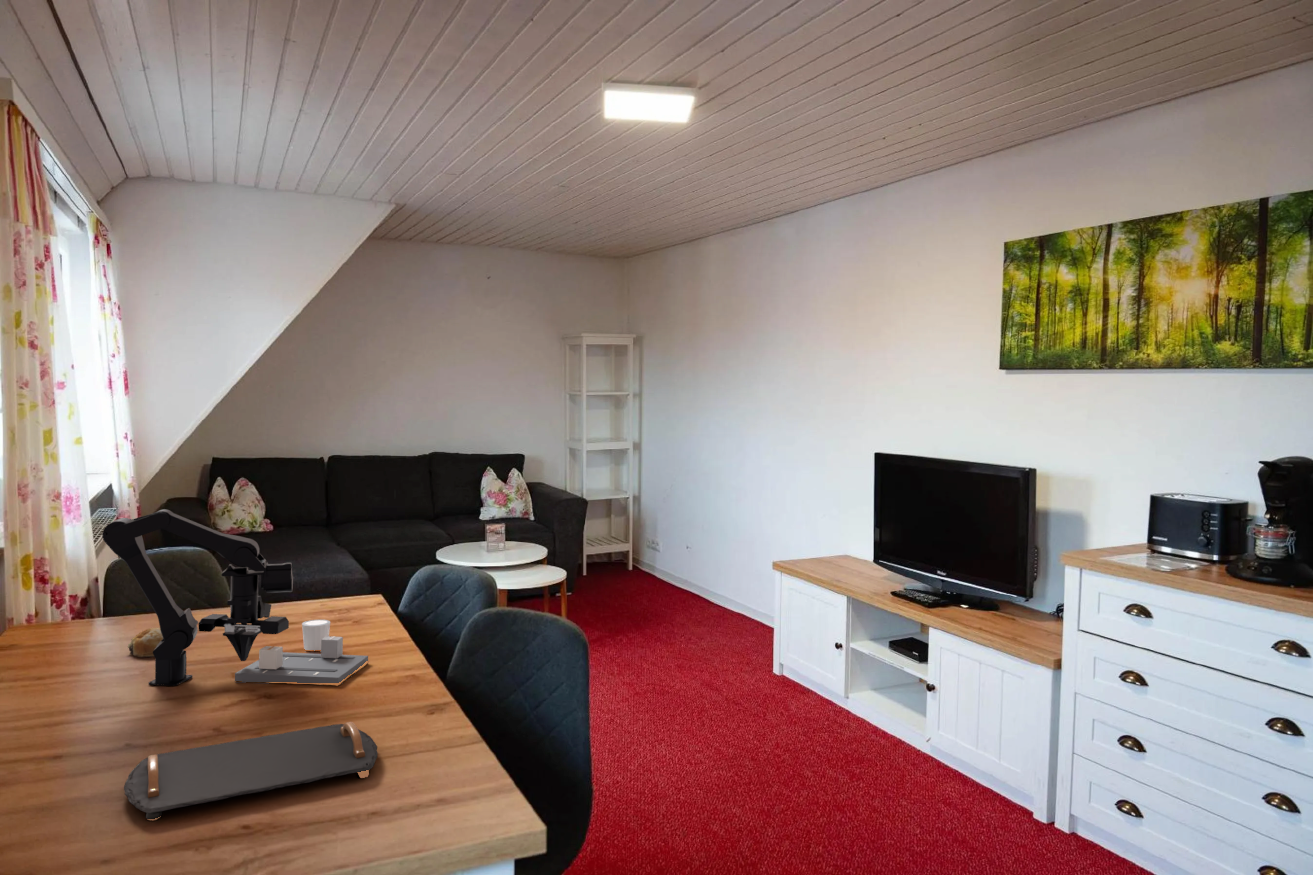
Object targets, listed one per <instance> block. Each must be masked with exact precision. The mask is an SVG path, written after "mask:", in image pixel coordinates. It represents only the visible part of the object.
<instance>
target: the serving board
mask: <svg viewBox="0 0 1313 875" xmlns="http://www.w3.org/2000/svg"><path fill="white" fill-rule="evenodd" d="M378 755H379V753H378V745H377V743H376V742H375V741H374V739H373V738H372V737H371V736H370V735H368V734H367V733H366V732H365V731H362V730H361V729H359V728H358V726H357V725H356V724H355V723H354V722H353V721H348V722H345V723H336V724H330V725H325V726H317V727H313V728H307V729H299V730H294V731H289V732H284V733H276V734H275V733H274V734H268V735H264V736H258V737H252V738H246V739H240V740H234V741H228V742H223V743H217V744H211V745H209V744H208V745H205V746H197V747H192V748H187V749H182V750H181V749H180V750H173V751H170V752H169V751H168V752H163V753H162V752H161V753H156V754H151V755H148V757H146V758H144V759H143V760H141V761H140V762H139V763H138V764H136V766H135V767H134V768H133V769H132V770H131V772H129V774H128V776H127V779H126V781H125V783H124V786H123V791H124V795H125V796H126V797H127V801H128V802H129V804H131V805H132V806H134V808H136V809H138V810H140V811H142V812H144V813H145V819H146V818H147V819H155V818H158V817H160V816H161V815H162V816H163V812H164V811H168V810H169V811H170V810H174V809H179V808H183V807H188V806H194V805H198V804H204V803H209V802H210V803H211V802H217V801H221V800H225V799H229V798H233V797H239V796H242V795H250V794H255V793H256V794H257V793H262V792H267V791H270V790H272V791H273V790H275V789H276V790H277V789H281V788H285V787H290V786H294V785H295V786H296V785H300V784H308V783H312V782H316V781H319V780H323V779H330V778H334V777H340V776H345V775H350V774H355V773H356V774H357V772H361V771H366V770H371V769H373V767H374V766H375V764H376V763H375V762H376V761H377V758H378ZM162 816H161V817H162Z"/></svg>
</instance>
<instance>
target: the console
mask: <svg viewBox="0 0 1313 875" xmlns="http://www.w3.org/2000/svg"><path fill="white" fill-rule="evenodd" d="M366 661H368V662H369V655H362V654H361V655H358V654H356V655H355V654H343V655H342V656H340V657H339V658H321V653H313V652H287V651H285V652H284V651H283V663H282V666H281V667H279V668H277V669H259V659H258V660H256V661H253V662H252V663H251V664H249V665H247V666H245V667H243V668H242V669H240V670H238V671H237V672H235V673H234V682H235V681H242V682H241V683H246V682H297V683H339V682H341V681H342V680H343V679H345V678H346V677H347V676H348V675H350V674H352V673H353V672H354V671H355V670H357V669H358V668H359V667H360V666H362V665H363V664H364V663H365V662H366Z"/></svg>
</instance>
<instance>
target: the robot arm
mask: <svg viewBox="0 0 1313 875" xmlns="http://www.w3.org/2000/svg"><path fill="white" fill-rule="evenodd" d="M158 530H164V531H166V532H168V533H169V534H170V533H171V534H173V535H176V536H178V537H181V538H183V539H186V540H188V541H190V542H193V543H195V544H198V545H201V546H203V547H206V548H208V549H210V550H213V551H214V552H216V553H218V554H219V555H220V557H222V558H224V559H225V560H227V561H228V562H230V563H229V565H228V567H226V569H224V570H223V571H222V572H221V577H230V599H228V600H226V601H227V602H226V603H227V605H226V606H230V617H229V616H228V614H225V613H223V614H221V613H220V614H219V613H218V614H217V613H212V614H209V615H206V616H205V617H201V619H200V620H197V619H195V617H194V616H193V613H192V610H191V608H190V607H188V608H186V609H185V610H183V609H182V608H180V606H178V605H177V603H176V602H175V600H174V599H173V596H172V595H171V593H170V592H169V590H168V588H167V586H166V584H165V583H164V581H163V580H162V578H161V576H160V575H159V573H158V571H157V570H156V568H155V566H154V563H152V561H151V559H150V557H149V556H148V554H147V551H146V547H145V542H144V538H143V536H144V535H147V534H150V533H153V532H155V531H158ZM101 534H102V535H101V537H102V540H103V542H104V543H105V544H106V545H107V547H108V548H109V549H110V550H111V551H112V552H113V553H114V554H115V555H116V556H118V557H119V558H120V559H121V560H122V561H124V563H126V565H127V567H128V569H129V570H130V572H131V574H132V576H133V578H134V579H135V581H136V582H137V584H138V586H139V587H140V589H141V591H142V593H143V594H144V596H145V598H146V599H147V601H148V602H149V603H148V604H150V606H151V608H152V609H153V611H154V612H155V614H156V616H157V620H158V624H159V628H160V630H161V634H162V636H163V639H162V640H161V641H160V642H159V644H158V645H157V647H156V648H155V649H154V651H153V655H154V657H153V658H154V659H155V660H154V662H155V663H154V665H155V666H154V667H155V668H154V670H155V672H154V673H155V674H154V678H155V679H152V680H151V681H149V682H148V686H149V685H150V686H166V687H167V686H168V687H172V686H173V687H176V686H178V685H181V684H183V683H184V682H186V681H188V680H190V679H192V678H193V674H187V650H186V649H188V648H189V647H190V646H191V645H192V643H193V642H194V640H195V638H196V636H197V634H198V632H203V633H204V632H205V633H206V632H208V633H209V632H213V631H214V630H215V628H224V632H222V636H223V637H226V638H227V640H228V641H229V642H230V644H231V645H232V647H233V649H234V651H235V652H236V655H237V657H238V658H239V660H240V662H245V661H247V660H248V657H249V655H250V652H251V649H252V647H253V644H254V642H255V640H256V638H257V637H258V635H259V634H261V633H262V634H263V635H278V634H280V633H283V631H286V630H288V629H289V628H290V627H289V626H290V621H289V620H288V618H287V616H277V615H275V616H274V615H273V616H272V615H270V614H271V611H272V610H271V609H272V603H266V602H263V600H262V596H261V595H259V576H260V588H261V590H263V591H265V593H266V594H274V593H292V592H293V586H294V585H293V584H294V574H293V566H292V565H293V564H292V562H284V563H283V562H282V563H269V562H268V561H267V560H266V558H264V556H263V555H262V554H261V553H260V546H259V544H258V542H257V541H256V540H254V539H253V538H250V537H249V538H248V537H244V536H240V535H233V534H228V533H224V532H220V531H218V530H216V529H213V528H212V527H211V528H210V527H208V526H205V525H203V524H200V523H198V522H196V521H194V520H192V519H191V520H190V519H189V518H186V517H184V516H181V515H179V514H177V513H174V512H173V511H171V510H169V509H165V508H164V509H160V510H158V511H156V512H153V513H149V514H146V515H141V516H139V517H136V518H133V519H132V518H128V517H120V518H117V519H116V520H114V521H112V522H110V523H109V524H107V525H106V526H105V527H104V528H103V531H102V533H101ZM234 565H235V566H237V567H235V566H234ZM262 618H265V619H264V620H263V619H262Z"/></svg>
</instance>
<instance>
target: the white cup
mask: <svg viewBox="0 0 1313 875" xmlns="http://www.w3.org/2000/svg"><path fill="white" fill-rule="evenodd" d="M301 627H302V639H303V640H302V641H303V642H302V643H303V650H304V649H305V650H314V651H315V650H321V640H322V639H323V638H325V637H327V636H330V627H331V621H330V620H328V619H310V620H306V621H303V622H301Z"/></svg>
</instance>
